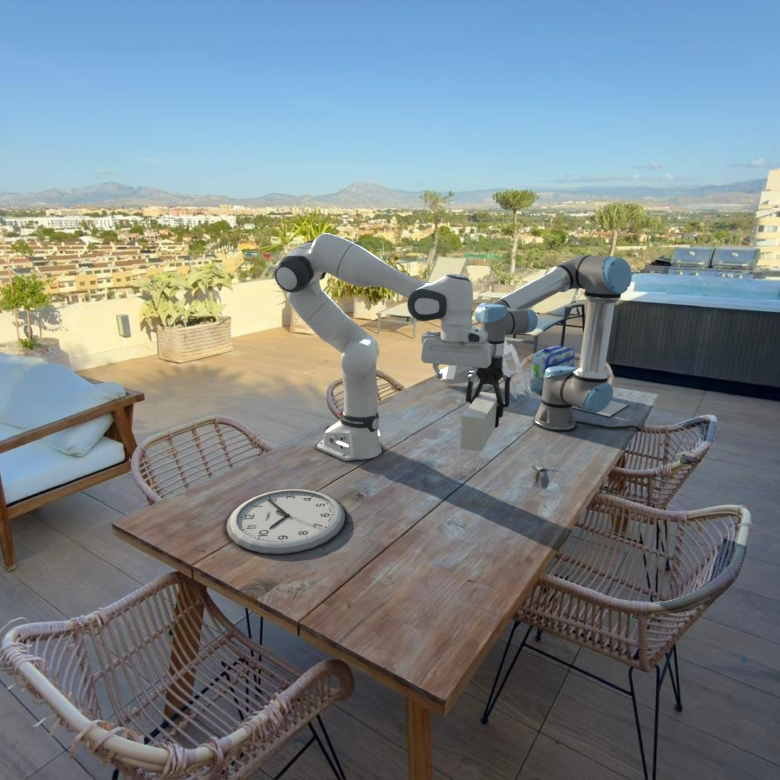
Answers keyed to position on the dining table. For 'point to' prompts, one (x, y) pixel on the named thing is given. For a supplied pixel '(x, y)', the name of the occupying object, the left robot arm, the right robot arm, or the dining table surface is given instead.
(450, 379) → the white plastic object
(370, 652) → the dining table surface
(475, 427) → the box
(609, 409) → the invitation card
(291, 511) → the wall clock
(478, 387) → the right robot arm
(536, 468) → the fork
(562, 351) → the lunch box
